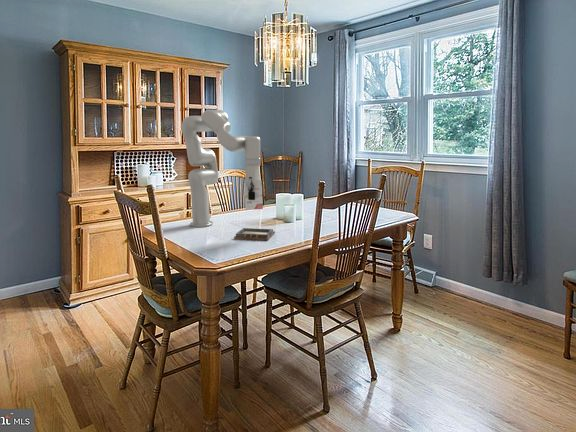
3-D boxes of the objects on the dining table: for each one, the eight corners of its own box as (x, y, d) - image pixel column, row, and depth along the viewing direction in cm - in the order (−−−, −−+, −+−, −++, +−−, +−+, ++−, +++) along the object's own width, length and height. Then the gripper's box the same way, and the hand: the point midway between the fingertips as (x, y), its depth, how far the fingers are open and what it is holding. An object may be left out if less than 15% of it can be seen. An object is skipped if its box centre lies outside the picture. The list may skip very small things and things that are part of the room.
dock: (243, 231, 224) (243, 226, 223) (274, 233, 221) (274, 227, 220) (234, 239, 210) (233, 233, 209) (267, 240, 206) (267, 234, 206)
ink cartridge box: (261, 207, 215) (261, 178, 212) (262, 209, 211) (262, 179, 208) (244, 208, 214) (244, 178, 211) (245, 209, 209) (244, 180, 206)
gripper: (250, 160, 217) (251, 195, 220) (240, 163, 200) (241, 201, 204) (264, 160, 215) (265, 196, 219) (255, 163, 198) (256, 201, 202)
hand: (253, 198), depth 211 cm, fingers closed on ink cartridge box, 6 cm apart
